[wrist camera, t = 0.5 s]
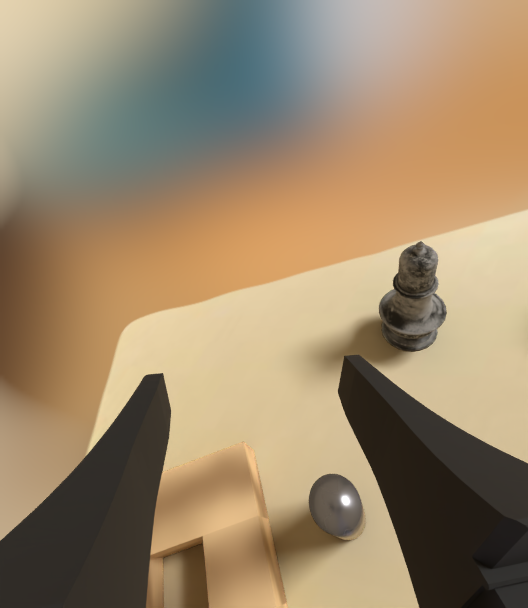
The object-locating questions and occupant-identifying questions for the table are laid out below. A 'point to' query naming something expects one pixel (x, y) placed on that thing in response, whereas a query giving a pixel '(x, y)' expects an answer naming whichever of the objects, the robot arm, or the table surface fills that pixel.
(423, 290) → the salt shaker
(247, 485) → the oak hole block
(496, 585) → the robot arm
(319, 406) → the table surface
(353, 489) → the metal peg
